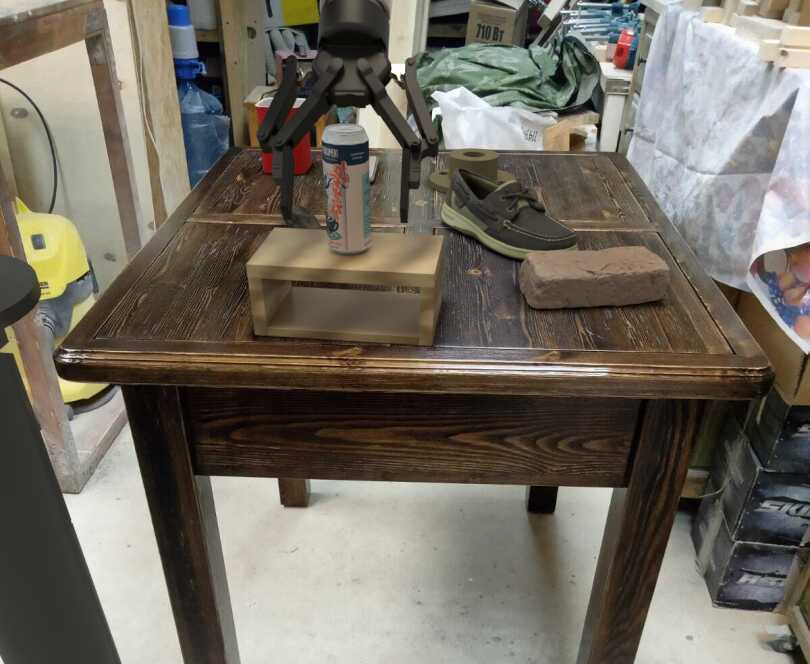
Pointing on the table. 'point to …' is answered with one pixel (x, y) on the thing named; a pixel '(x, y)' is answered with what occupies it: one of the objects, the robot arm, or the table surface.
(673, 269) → the table surface
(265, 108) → the mug
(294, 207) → the tool
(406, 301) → the shelf
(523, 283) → the brick
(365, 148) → the beer can
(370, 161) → the smartphone
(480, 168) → the flange
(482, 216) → the boat shoe
